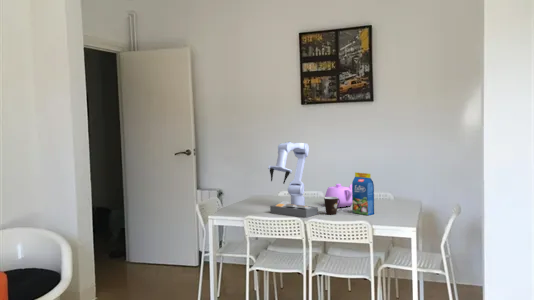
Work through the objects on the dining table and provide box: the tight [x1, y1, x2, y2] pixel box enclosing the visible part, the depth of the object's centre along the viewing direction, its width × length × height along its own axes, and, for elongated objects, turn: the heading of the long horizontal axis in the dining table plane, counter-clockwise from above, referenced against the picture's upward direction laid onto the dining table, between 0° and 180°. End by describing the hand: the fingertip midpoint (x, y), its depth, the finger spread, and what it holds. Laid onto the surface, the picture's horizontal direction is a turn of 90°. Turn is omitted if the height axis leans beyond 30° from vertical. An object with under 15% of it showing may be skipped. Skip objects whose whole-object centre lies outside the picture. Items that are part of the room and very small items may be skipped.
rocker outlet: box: [297, 205, 313, 209], centre depth 290 cm, size 9×6×1 cm, turn 140°
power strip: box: [269, 203, 319, 219], centre depth 296 cm, size 12×28×4 cm, turn 50°
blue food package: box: [351, 171, 375, 216], centre depth 290 cm, size 6×12×25 cm, turn 39°
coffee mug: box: [323, 196, 340, 216], centre depth 292 cm, size 12×9×10 cm
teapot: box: [324, 183, 352, 209], centre depth 318 cm, size 23×21×15 cm
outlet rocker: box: [275, 200, 291, 207], centre depth 302 cm, size 9×6×1 cm, turn 140°
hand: (277, 182), depth 289 cm, fingers open, 7 cm apart
